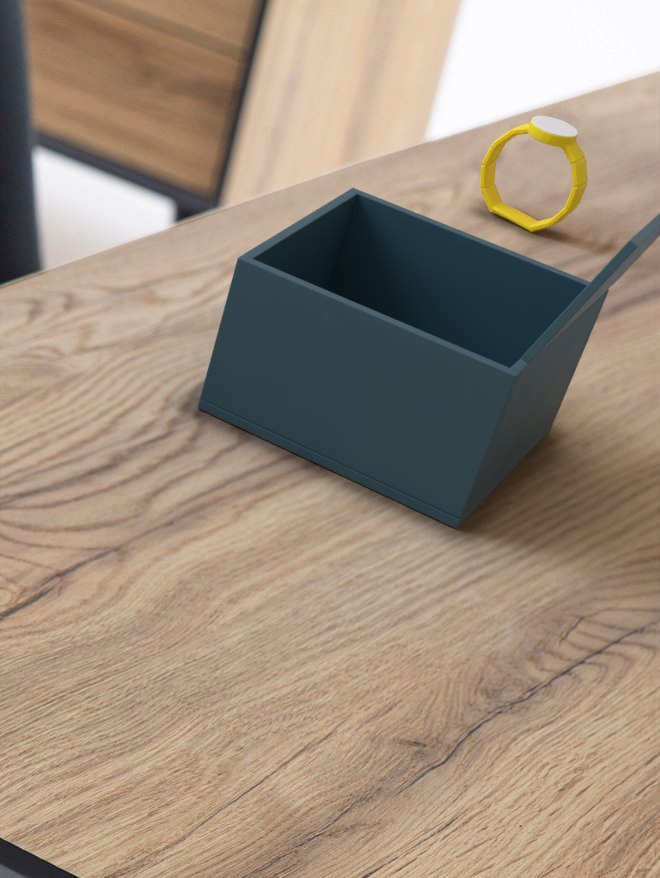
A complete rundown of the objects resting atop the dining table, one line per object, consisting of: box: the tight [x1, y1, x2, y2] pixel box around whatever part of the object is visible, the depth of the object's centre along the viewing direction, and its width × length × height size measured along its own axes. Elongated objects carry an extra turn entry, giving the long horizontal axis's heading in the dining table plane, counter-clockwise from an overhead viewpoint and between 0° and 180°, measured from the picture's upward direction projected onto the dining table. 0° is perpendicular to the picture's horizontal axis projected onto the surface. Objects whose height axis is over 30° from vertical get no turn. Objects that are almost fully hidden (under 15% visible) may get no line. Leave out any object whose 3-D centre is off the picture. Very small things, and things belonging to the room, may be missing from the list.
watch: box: [479, 115, 589, 233], centre depth 101 cm, size 6×3×6 cm, turn 51°
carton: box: [197, 187, 610, 529], centre depth 79 cm, size 13×12×8 cm
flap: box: [521, 212, 660, 364], centre depth 71 cm, size 6×12×1 cm
